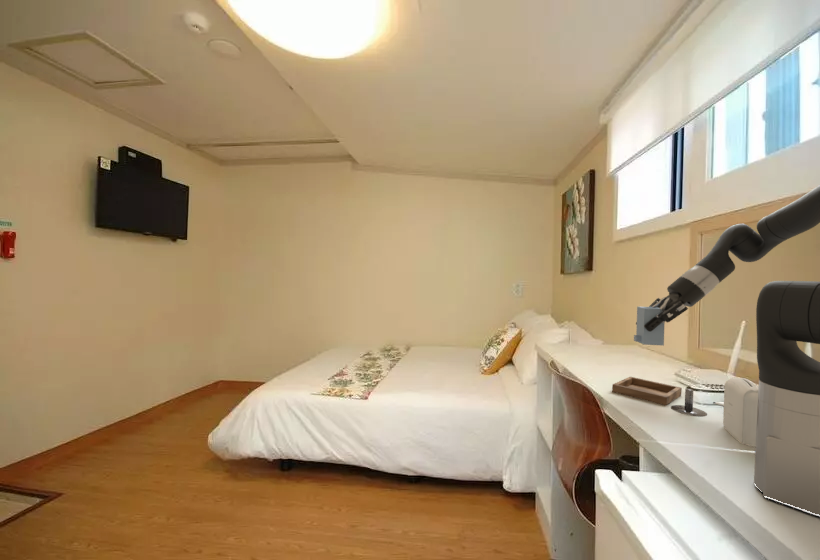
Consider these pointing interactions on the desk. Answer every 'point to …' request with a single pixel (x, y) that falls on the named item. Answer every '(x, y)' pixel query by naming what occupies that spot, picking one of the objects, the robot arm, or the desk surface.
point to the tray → (647, 390)
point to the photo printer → (741, 409)
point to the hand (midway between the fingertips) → (642, 327)
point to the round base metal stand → (688, 406)
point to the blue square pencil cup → (642, 333)
